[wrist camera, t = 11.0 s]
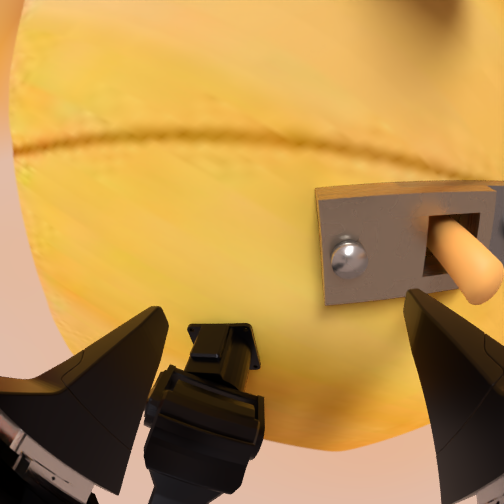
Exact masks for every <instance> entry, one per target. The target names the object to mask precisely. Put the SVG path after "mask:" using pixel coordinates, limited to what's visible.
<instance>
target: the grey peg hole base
mask: <svg viewBox="0 0 504 504" xmlns="http://www.w3.org/2000/svg"><path fill="white" fill-rule="evenodd" d="M394 183H396V184H397V185H398V186H400V187H401V188H402V187H425V186H488V187H490V188H492V189H493V190H495V191H497V193H496V204H495V213H494V220H493V227H492V233H491V239H490V245H489V251H490V252H491V253H492V254H493V255H494V256H495V257H496V258H497V259H498V260H499V261H500V262H501V263H502V264H503V268H504V181H413V182H394ZM469 216H470V213H464V214H460V221H459V224H460V225H461V226H463V227H464V228H465V229H466V230H467V231H468V225H469ZM435 264H441V263H440V262H439V261H438V260H437V258H436V257H435V256H434V255H430V256H425V261H424V266H427V265H435Z"/></svg>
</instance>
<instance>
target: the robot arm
mask: <svg viewBox="0 0 504 504" xmlns="http://www.w3.org/2000/svg"><path fill="white" fill-rule="evenodd" d="M403 312H404V318H405V322H406V327H407V332H408V336H409V341H410V346H411V351H412V355H413V358H414V361H415V365H416V368H417V371H418V375H419V379H420V382H421V386H422V390H423V394H424V398H425V402H426V406H427V410H428V414H429V419H430V424H431V429H432V434H433V439H434V445H435V451H436V458H437V465H438V472H439V481H440V491H441V503H442V504H455V503H457V502H460V501H462V500H465V499H467V498H469V497H472V496H474V495H477V504H504V346H503V345H501V344H500V343H499V342H497V341H496V340H494V339H493V338H491V337H490V336H489V335H487V334H485V333H484V332H483V331H481V330H480V329H479V328H477V327H476V326H474V325H473V324H471V323H470V322H469V321H467V320H466V319H464V318H463V317H461V316H460V315H458V314H457V313H455V312H454V311H452V310H451V309H449V308H448V307H446V306H445V305H443V304H442V303H440V302H439V301H437V300H436V299H434V298H433V297H431V296H429V295H428V294H426V293H425V292H423V291H422V290H420V289H418V288H415V289H408V290H407V292H406V297H405V303H404V309H403ZM168 328H169V324H168V321H167V319H166V316H165V314H164V312H163V309H162V308H161V307H160V306H151V307H149V308H147V309H146V310H144V311H143V312H141V313H139V314H138V315H136V316H135V317H133V318H132V319H130V320H129V321H127V322H125V323H124V324H122V325H121V326H119V327H118V328H116V329H115V330H113V331H111V332H110V333H108V334H107V335H105V336H104V337H102V338H101V339H99V340H98V341H96V342H94V343H93V344H91V345H90V346H88V347H87V348H85V350H82V351H80V352H79V353H77V354H76V355H74V356H73V357H71V358H69V359H68V360H66V361H64V362H63V363H61V364H59V365H57V366H56V367H54V368H52V369H51V370H49V371H47V372H45V373H43V374H41V375H39V376H38V377H35V378H32V379H16V378H9V377H1V376H0V504H99V503H98V501H97V498H96V496H95V494H94V493H92V492H91V491H92V489H93V486H94V485H96V486H98V487H100V488H102V489H104V490H107V491H109V492H111V493H113V494H115V495H119V493H120V489H121V486H122V482H123V478H124V475H125V471H126V467H127V464H128V460H129V457H130V453H131V450H132V446H133V443H134V440H135V436H136V433H137V430H138V427H139V424H140V420H141V417H142V414H143V411H145V415H144V417H145V420H144V425H145V426H147V427H149V428H151V429H150V432H149V434H148V437H147V440H146V443H145V446H144V459H145V464H146V468H147V469H149V471H150V474H151V477H152V480H153V484H154V488H153V491H152V494H151V497H150V500H149V503H148V504H209V503H210V502H211V501H213V500H214V499H216V498H217V497H219V496H220V495H221V494H223V493H226V494H232V493H234V492H235V490H237V489H238V488H239V487H240V486H241V484H242V480H243V477H244V473H245V470H246V467H247V464H248V462H249V460H252V459H254V458H255V456H256V455H257V453H258V451H259V449H260V447H261V444H262V441H263V437H264V431H265V419H264V397H262V396H259V395H258V396H255V395H252V394H249V393H245V387H246V382H247V378H248V373H249V370H257V369H259V368H260V365H261V364H260V360H259V356H258V351H257V347H256V343H255V339H254V335H253V331H252V327H251V325H250V324H248V323H234V324H190V325H189V326H188V328H187V330H188V333H189V335H190V337H191V340H192V342H193V344H194V345H193V348H192V350H191V352H190V357H189V359H188V362H187V364H186V367H185V369H184V371H183V370H181V369H178V368H176V366H173V365H171V364H170V365H169V367H168V369H167V370H165V371H164V372H160V374H159V377H158V379H157V381H156V383H155V385H154V386H153V388H152V389H151V387H152V384H153V381H154V378H155V375H156V372H157V369H158V367H159V364H160V361H161V357H162V353H163V349H164V345H165V340H166V336H167V332H168ZM245 328H247V329H245Z"/></svg>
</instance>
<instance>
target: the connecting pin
mask: <svg viewBox="0 0 504 504" xmlns="http://www.w3.org/2000/svg"><path fill="white" fill-rule="evenodd" d="M426 246H427V247H428V248H429V250H430V251H431V252H432V253H433V255H434V256H435V257H436V258H437V260H438V261H439V262H440V263H441V265H442V266H443V267H444V269H445V270H446V271H447V273H448V274H449V275H450V277H451V278H452V279H453V281H454V282H455V283H456V285H457V286H458V287H459V289H460V290H461V292H462V293H463V295H464V296H465V297H466V299H467V300H468V302H469V303H471V304H473V305H479V304H482V303H484V302H486V301H488V300H489V299H490V298H491V297H492V296H493V295H494V294H495V293H496V292H497V290H498V289H499V287H500V285H501V283H502V280H503V276H504V268H503V264H502V263H501V262H500V261H499V260H498V259H497V258H496V257H495V256H494V255H493V254H492V253H491V252H490V251H489V250H488V249H487V248H486V247H485V246H484V245H483V244H482V243H481V242H480V241H478V240H477V239H476V238H475V237H474V236H473V235H472V234H471V233H469V232H468V231H467V230H466V229H465V228H464V227H463V226H461V225H460V224H459V223H458V222H457V221H455V220H454V219H453V218H452V217H451V216H449V215H433V216H429V221H428V234H427V244H426Z"/></svg>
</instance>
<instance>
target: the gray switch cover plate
mask: <svg viewBox="0 0 504 504" xmlns="http://www.w3.org/2000/svg"><path fill="white" fill-rule="evenodd" d="M496 193H497V191H495V190H493V189H492V188H490V187H488V186H425V187H402V188H401V187H400V186H398V185H397V184H396V183H394V182H391V183H373V184H358V185H345V186H333V187H322V188H315V194H316V203H317V213H318V224H319V236H320V249H321V264H322V282H323V291H324V300H325V305H336V304H346V303H356V302H365V301H374V300H383V299H391V298H399V297H406V292H407V290H408V289H415V288H418V289H420V290H422V291H423V292H425V293H426V294H427V293H433V292H440V291H446V290H452V289H458V288H459V287H458V286H457V285H456V283H455V282H454V281H453V279H452V278H451V277H450V275H449V274H448V273H447V271H446V270H445V269H444V267H443V266H442V265H441V264H435V265H427V266H424V261H425V253H426V244H427V234H428V221H429V216H433V215H448V214H464V213H470V216H469V225H468V232H469V233H471V234H472V235H473V236H474V237H475V238H476V239H477V240H478V241H480V242H481V243H482V244H483V245H484V246H485V247H486V248H487V249H488V250H489V245H490V239H491V233H492V227H493V220H494V213H495V204H496Z"/></svg>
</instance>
